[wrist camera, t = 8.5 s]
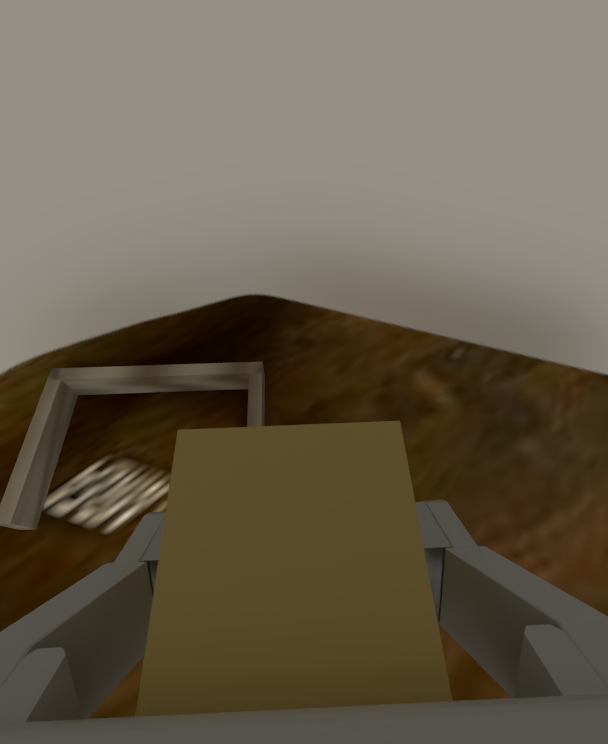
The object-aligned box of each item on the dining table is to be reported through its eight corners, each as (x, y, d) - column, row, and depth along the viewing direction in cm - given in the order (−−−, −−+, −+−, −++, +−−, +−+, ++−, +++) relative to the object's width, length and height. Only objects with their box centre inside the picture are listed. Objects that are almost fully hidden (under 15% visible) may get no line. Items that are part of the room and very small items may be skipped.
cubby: (265, 377, 30) (262, 361, 28) (263, 518, 24) (260, 511, 22) (69, 384, 29) (51, 368, 27) (20, 529, 24) (-7, 524, 22)
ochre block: (352, 504, 13) (399, 420, 6) (365, 635, 11) (456, 721, 4) (245, 508, 13) (177, 429, 6) (239, 642, 11) (132, 736, 4)
